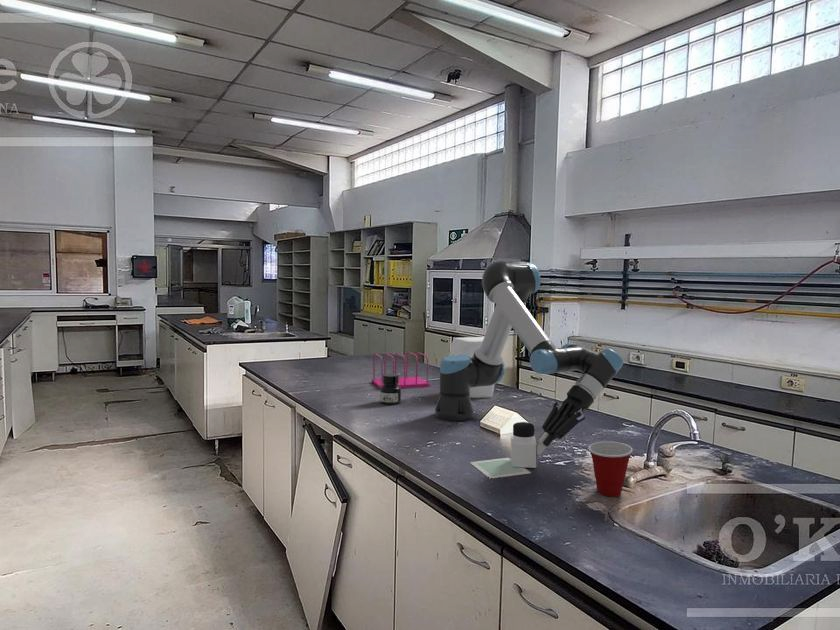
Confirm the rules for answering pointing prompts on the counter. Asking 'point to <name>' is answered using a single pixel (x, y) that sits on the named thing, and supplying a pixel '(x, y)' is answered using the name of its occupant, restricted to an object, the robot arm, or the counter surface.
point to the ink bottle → (390, 389)
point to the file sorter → (404, 381)
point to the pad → (499, 468)
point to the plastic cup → (610, 466)
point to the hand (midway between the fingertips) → (535, 452)
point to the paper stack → (468, 348)
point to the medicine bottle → (523, 446)
